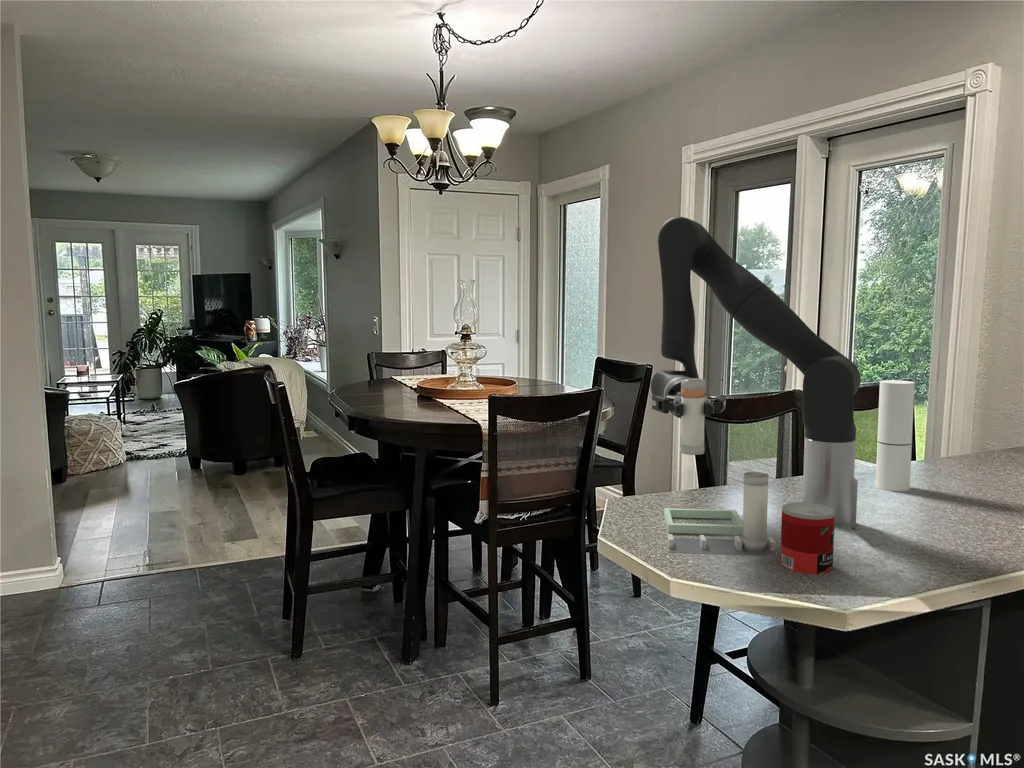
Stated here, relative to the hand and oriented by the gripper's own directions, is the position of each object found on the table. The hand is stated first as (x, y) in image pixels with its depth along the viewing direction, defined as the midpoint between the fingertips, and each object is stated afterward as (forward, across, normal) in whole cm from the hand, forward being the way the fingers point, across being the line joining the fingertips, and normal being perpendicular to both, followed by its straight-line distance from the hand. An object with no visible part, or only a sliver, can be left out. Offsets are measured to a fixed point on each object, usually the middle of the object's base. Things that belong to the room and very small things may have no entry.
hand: (694, 410), depth 126 cm
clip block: (-1, +5, +26) cm, 26 cm away
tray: (-13, +3, +26) cm, 29 cm away
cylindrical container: (-50, +52, +26) cm, 77 cm away
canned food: (+8, +17, +26) cm, 32 cm away
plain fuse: (0, +10, +24) cm, 26 cm away
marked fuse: (-3, 0, +8) cm, 8 cm away
